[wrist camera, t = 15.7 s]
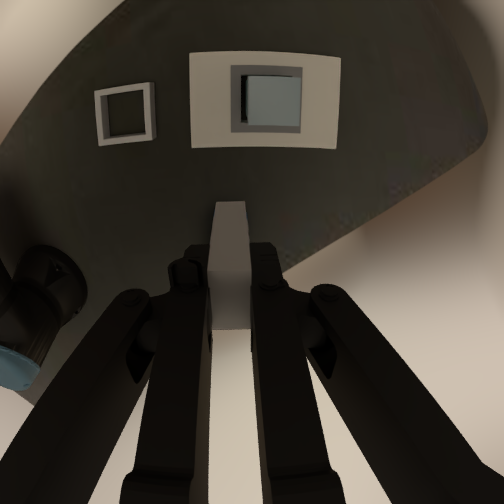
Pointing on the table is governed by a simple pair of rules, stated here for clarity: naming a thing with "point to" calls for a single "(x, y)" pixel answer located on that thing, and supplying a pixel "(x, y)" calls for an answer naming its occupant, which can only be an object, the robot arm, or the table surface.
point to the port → (229, 99)
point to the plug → (273, 100)
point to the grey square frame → (103, 116)
